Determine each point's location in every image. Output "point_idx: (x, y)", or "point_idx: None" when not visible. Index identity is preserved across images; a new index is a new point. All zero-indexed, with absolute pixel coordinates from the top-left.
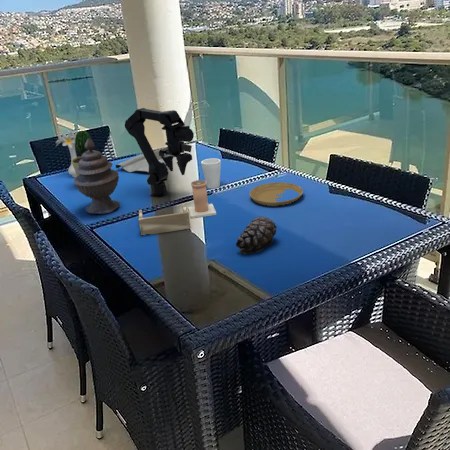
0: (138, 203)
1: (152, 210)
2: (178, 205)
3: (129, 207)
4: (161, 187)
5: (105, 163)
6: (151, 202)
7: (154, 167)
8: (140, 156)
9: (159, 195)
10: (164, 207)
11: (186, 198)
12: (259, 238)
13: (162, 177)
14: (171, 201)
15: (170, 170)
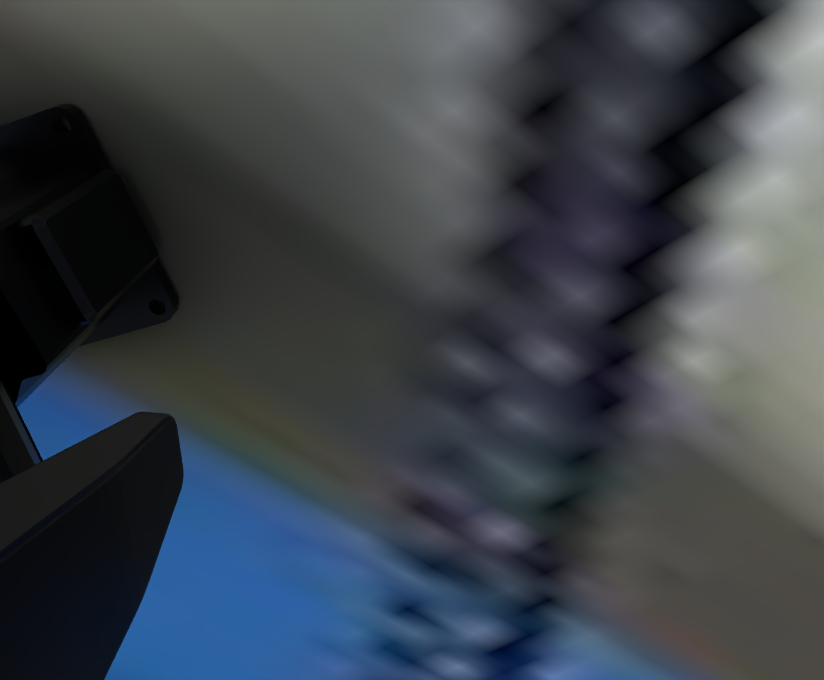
0: (167, 575)
1: (513, 615)
2: (704, 353)
3: (208, 677)
4: (84, 329)
5: None
6: (262, 483)
7: None
8: None
9: (130, 306)
10: (570, 496)
11: (589, 71)
12: None
13: (13, 440)
14: (469, 314)
15: (169, 521)
